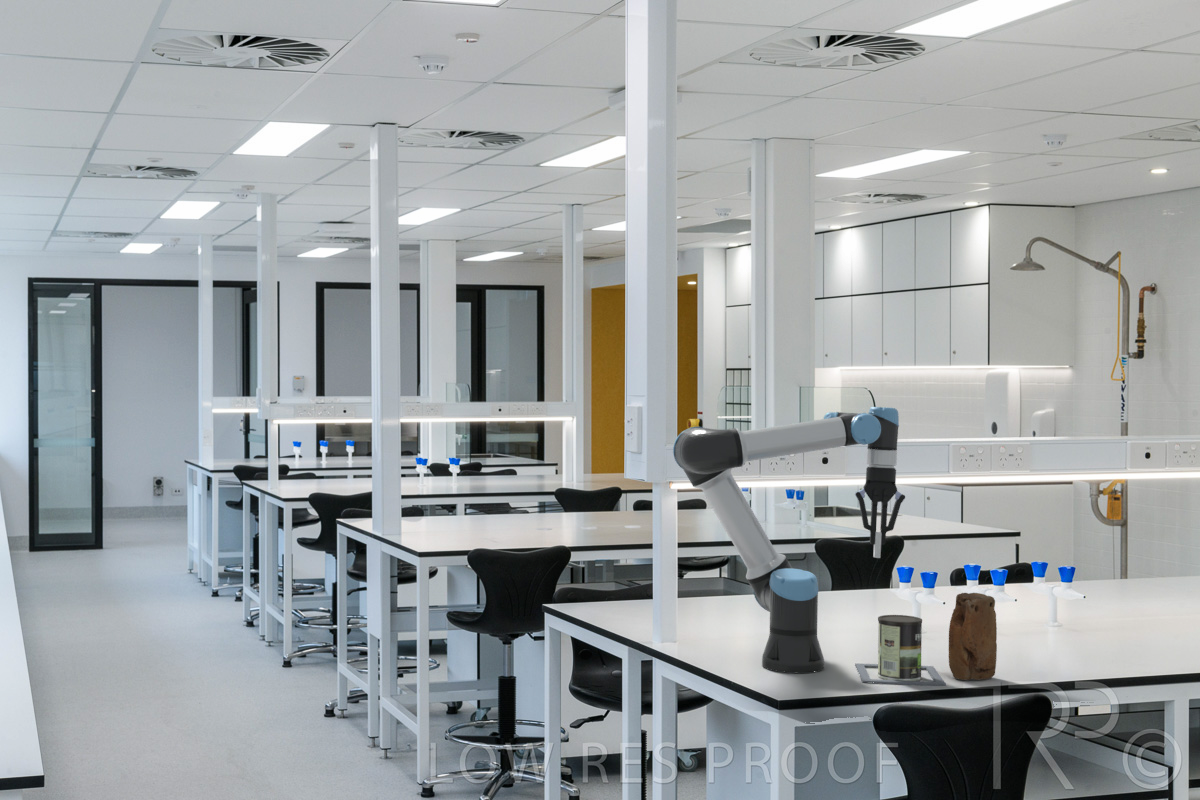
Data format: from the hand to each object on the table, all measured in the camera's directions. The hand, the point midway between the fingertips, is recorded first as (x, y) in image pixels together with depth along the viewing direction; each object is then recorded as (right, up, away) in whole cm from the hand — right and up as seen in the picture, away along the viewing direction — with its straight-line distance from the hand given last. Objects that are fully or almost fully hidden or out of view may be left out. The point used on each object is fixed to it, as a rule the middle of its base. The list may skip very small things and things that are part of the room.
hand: (876, 557), depth 315 cm
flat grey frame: (0, -25, -23) cm, 35 cm away
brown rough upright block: (+17, -26, -25) cm, 40 cm away
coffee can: (0, -26, -25) cm, 36 cm away
